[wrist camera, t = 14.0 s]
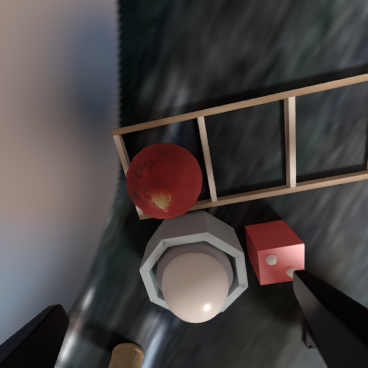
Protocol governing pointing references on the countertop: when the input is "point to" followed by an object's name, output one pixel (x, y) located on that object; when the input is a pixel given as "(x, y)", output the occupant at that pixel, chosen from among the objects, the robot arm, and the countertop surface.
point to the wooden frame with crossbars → (289, 146)
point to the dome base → (227, 250)
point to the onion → (164, 180)
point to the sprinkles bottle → (126, 356)
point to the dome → (194, 280)
